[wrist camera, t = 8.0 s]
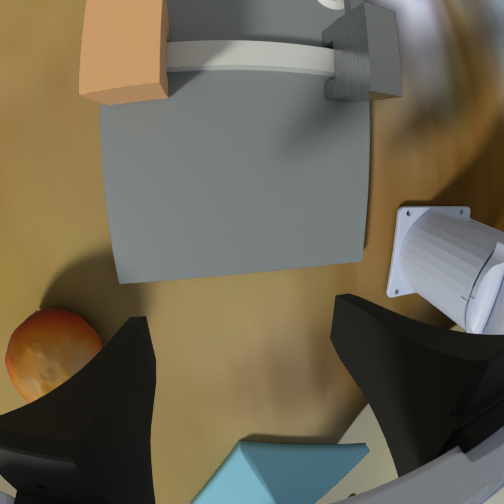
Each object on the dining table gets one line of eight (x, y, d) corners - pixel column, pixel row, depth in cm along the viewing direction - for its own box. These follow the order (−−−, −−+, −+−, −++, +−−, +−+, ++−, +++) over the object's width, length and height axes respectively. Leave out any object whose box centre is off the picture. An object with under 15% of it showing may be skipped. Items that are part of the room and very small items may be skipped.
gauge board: (353, -14, 16) (367, -25, 14) (355, 256, 23) (370, 267, 21) (113, -23, 13) (106, -38, 10) (121, 277, 20) (115, 292, 18)
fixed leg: (343, -12, 15) (384, -42, 10) (351, 103, 18) (402, 96, 13) (317, -18, 14) (354, -53, 9) (324, 101, 18) (370, 90, 13)
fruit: (-2, 285, 17) (1, 356, 12) (87, 284, 23) (120, 346, 17) (8, 364, 19) (24, 436, 14) (84, 357, 25) (115, 421, 20)
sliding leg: (172, -27, 13) (170, -73, 8) (168, 99, 16) (159, 82, 11) (118, -20, 12) (100, -62, 7) (109, 107, 15) (79, 94, 10)
